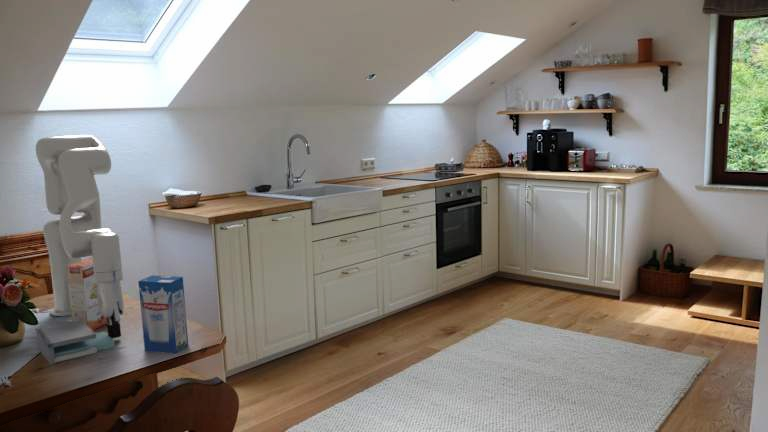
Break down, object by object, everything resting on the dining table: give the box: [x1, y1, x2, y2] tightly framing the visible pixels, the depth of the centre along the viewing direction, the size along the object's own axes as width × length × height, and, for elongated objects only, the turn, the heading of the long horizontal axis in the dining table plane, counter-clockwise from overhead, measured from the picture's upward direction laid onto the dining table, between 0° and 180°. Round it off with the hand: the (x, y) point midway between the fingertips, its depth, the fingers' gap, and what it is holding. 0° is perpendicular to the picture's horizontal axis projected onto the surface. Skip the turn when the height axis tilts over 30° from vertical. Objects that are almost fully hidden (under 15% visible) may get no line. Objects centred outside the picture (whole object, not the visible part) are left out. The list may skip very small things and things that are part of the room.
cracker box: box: [67, 256, 107, 332], centre depth 203 cm, size 14×6×21 cm, turn 168°
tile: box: [53, 331, 116, 357], centre depth 185 cm, size 10×16×2 cm, turn 128°
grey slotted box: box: [35, 320, 98, 365], centre depth 183 cm, size 16×12×6 cm
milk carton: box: [138, 275, 189, 354], centre depth 182 cm, size 10×6×20 cm, turn 75°
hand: (114, 336), depth 191 cm, fingers closed
